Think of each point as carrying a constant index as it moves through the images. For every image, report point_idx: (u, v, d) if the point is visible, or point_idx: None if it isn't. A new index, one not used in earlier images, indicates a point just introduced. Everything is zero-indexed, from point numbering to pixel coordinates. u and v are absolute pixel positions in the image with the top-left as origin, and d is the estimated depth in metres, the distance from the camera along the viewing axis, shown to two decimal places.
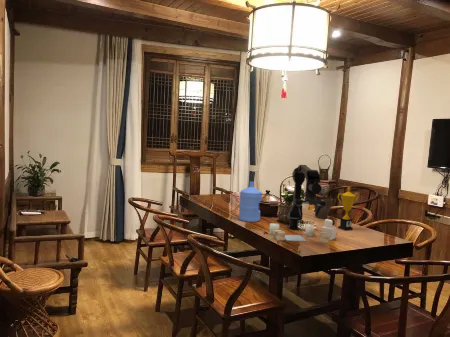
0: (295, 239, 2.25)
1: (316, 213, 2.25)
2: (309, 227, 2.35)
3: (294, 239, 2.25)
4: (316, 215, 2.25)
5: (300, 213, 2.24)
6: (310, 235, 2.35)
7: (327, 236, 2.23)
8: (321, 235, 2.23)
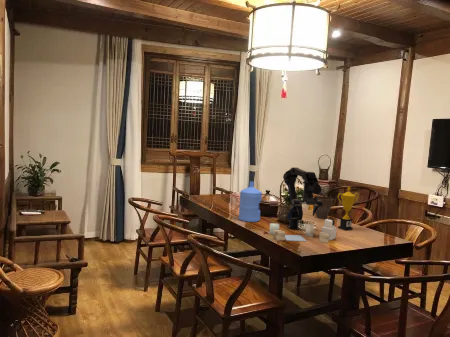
0: (295, 239, 2.25)
1: (313, 212, 2.39)
2: (309, 227, 2.35)
3: (294, 239, 2.25)
4: (313, 214, 2.40)
5: (298, 212, 2.39)
6: (310, 235, 2.35)
7: (327, 236, 2.23)
8: (321, 235, 2.23)
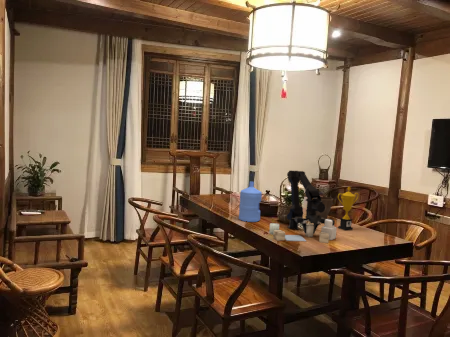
0: (295, 239, 2.25)
1: None
2: (309, 227, 2.34)
3: (294, 239, 2.25)
4: None
5: (304, 230, 2.36)
6: (310, 235, 2.35)
7: (327, 236, 2.23)
8: (321, 235, 2.23)
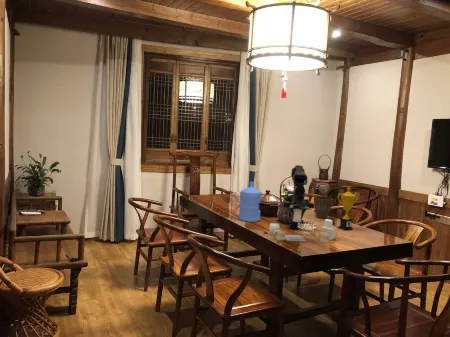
0: (295, 239, 2.25)
1: (301, 215, 2.28)
2: (297, 212, 2.26)
3: (294, 239, 2.25)
4: (301, 217, 2.28)
5: (292, 215, 2.27)
6: (298, 220, 2.26)
7: (327, 236, 2.23)
8: (321, 235, 2.23)
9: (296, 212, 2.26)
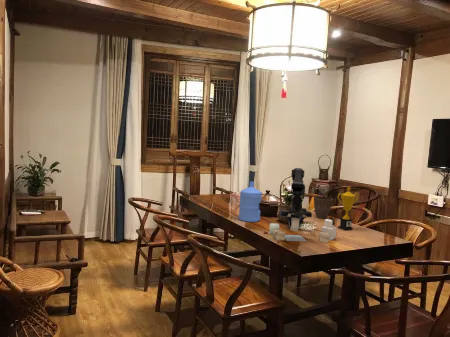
0: (295, 239, 2.25)
1: (299, 224, 2.28)
2: (294, 221, 2.26)
3: (294, 239, 2.25)
4: (299, 226, 2.28)
5: (289, 224, 2.27)
6: (295, 229, 2.26)
7: (327, 236, 2.23)
8: (321, 235, 2.23)
9: (294, 221, 2.26)
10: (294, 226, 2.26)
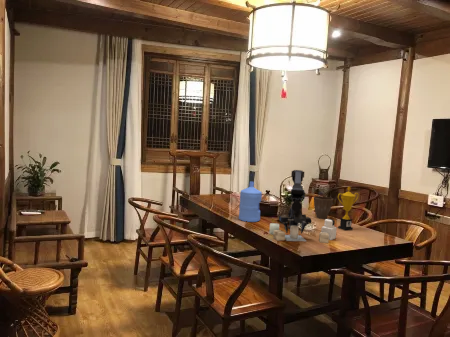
0: (295, 239, 2.25)
1: (302, 230, 2.28)
2: (294, 229, 2.26)
3: (294, 239, 2.25)
4: (302, 232, 2.29)
5: (286, 230, 2.28)
6: (295, 237, 2.27)
7: (327, 236, 2.23)
8: (321, 235, 2.23)
9: (293, 229, 2.26)
10: (293, 234, 2.27)
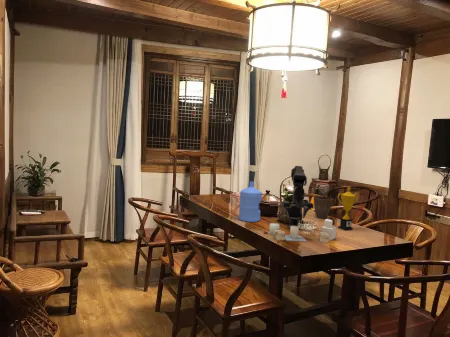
0: (295, 239, 2.25)
1: (304, 215, 2.33)
2: (294, 229, 2.26)
3: (294, 239, 2.25)
4: (304, 217, 2.33)
5: (288, 215, 2.32)
6: (295, 237, 2.27)
7: (327, 236, 2.23)
8: (321, 235, 2.23)
9: (293, 229, 2.26)
10: (293, 234, 2.27)
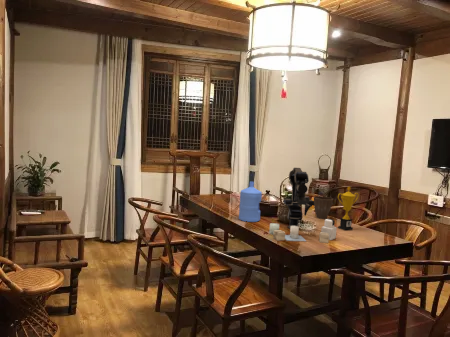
0: (295, 239, 2.25)
1: (305, 212, 2.39)
2: (294, 229, 2.26)
3: (294, 239, 2.25)
4: (305, 214, 2.39)
5: (290, 212, 2.38)
6: (295, 237, 2.27)
7: (327, 236, 2.23)
8: (321, 235, 2.23)
9: (293, 229, 2.26)
10: (293, 234, 2.27)
